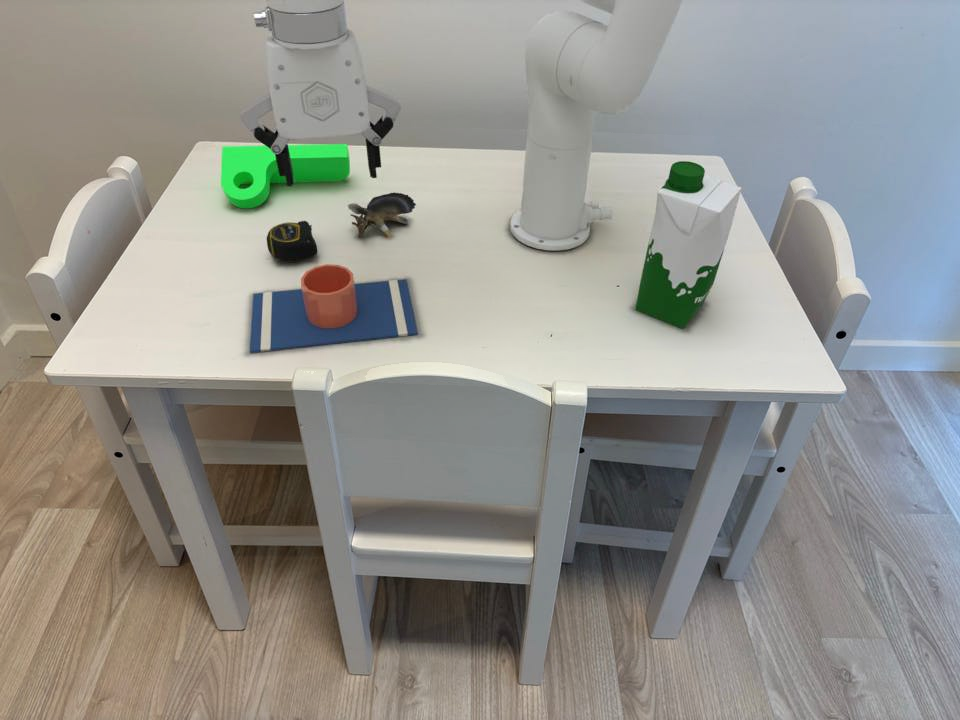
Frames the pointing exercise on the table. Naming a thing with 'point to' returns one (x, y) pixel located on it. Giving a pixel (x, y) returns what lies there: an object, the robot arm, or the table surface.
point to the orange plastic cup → (329, 296)
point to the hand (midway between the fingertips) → (331, 176)
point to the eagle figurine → (382, 211)
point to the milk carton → (685, 243)
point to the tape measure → (291, 241)
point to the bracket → (263, 169)
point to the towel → (288, 327)
